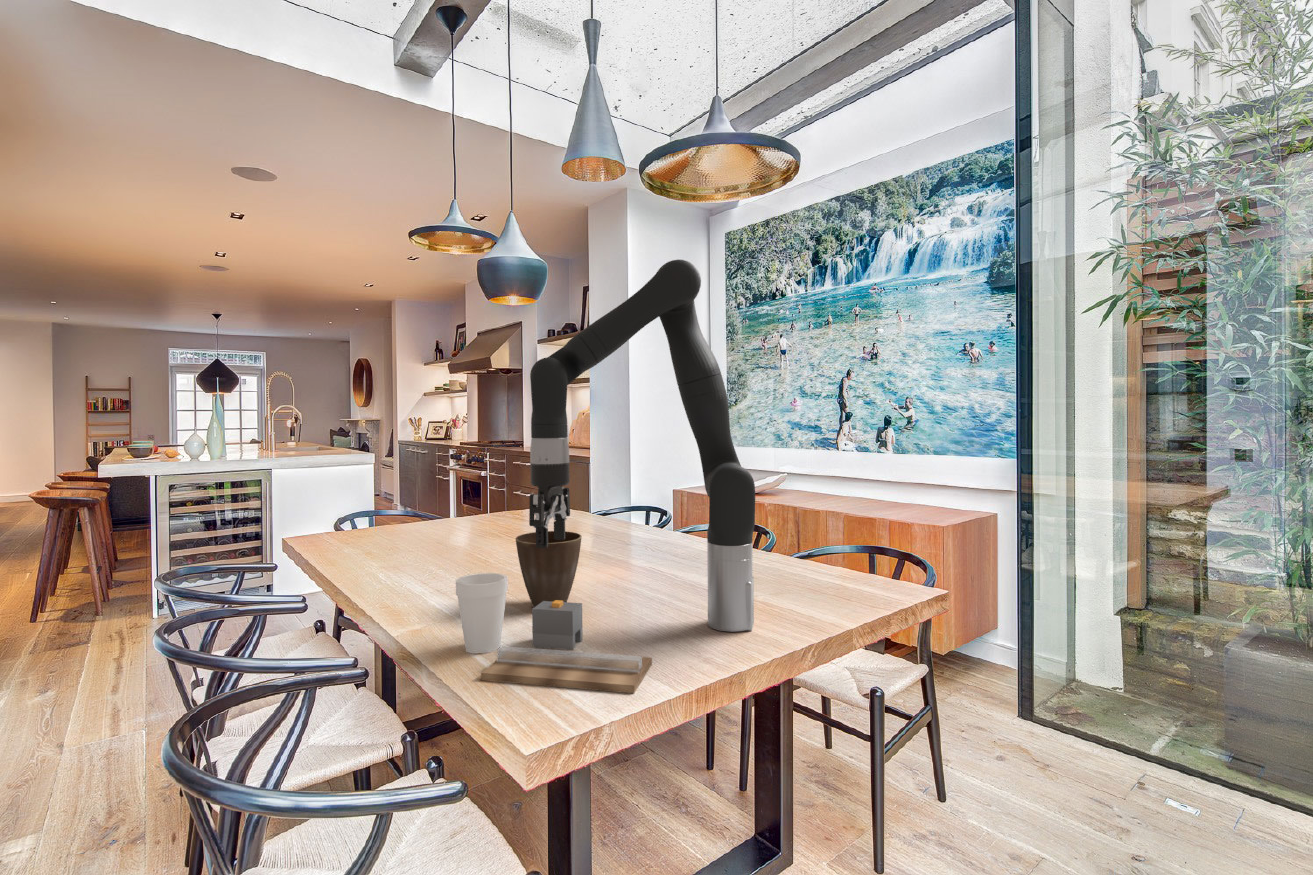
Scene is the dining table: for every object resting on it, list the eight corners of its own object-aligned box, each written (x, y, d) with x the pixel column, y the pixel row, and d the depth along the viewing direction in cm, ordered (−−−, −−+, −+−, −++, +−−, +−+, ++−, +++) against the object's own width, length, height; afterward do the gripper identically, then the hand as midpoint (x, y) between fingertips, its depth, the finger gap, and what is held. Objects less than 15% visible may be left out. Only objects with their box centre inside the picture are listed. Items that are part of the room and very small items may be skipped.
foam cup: (481, 660, 115) (479, 587, 114) (445, 650, 120) (444, 581, 119) (519, 644, 123) (518, 576, 122) (484, 636, 128) (483, 570, 127)
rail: (642, 667, 108) (642, 655, 108) (638, 673, 105) (638, 661, 105) (503, 656, 113) (503, 645, 113) (496, 662, 110) (496, 650, 110)
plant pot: (594, 607, 146) (593, 537, 146) (533, 620, 138) (532, 545, 137) (563, 593, 159) (563, 528, 158) (506, 604, 150) (505, 535, 149)
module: (582, 640, 125) (582, 599, 125) (572, 649, 120) (572, 606, 120) (543, 637, 127) (543, 596, 127) (532, 646, 122) (532, 604, 121)
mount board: (651, 664, 112) (651, 657, 112) (634, 693, 100) (634, 685, 100) (512, 653, 118) (512, 647, 118) (480, 679, 106) (480, 672, 106)
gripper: (553, 463, 119) (554, 551, 119) (581, 458, 132) (582, 537, 133) (515, 463, 120) (517, 550, 121) (547, 458, 134) (548, 536, 135)
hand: (551, 543), depth 127 cm, fingers open, 8 cm apart
